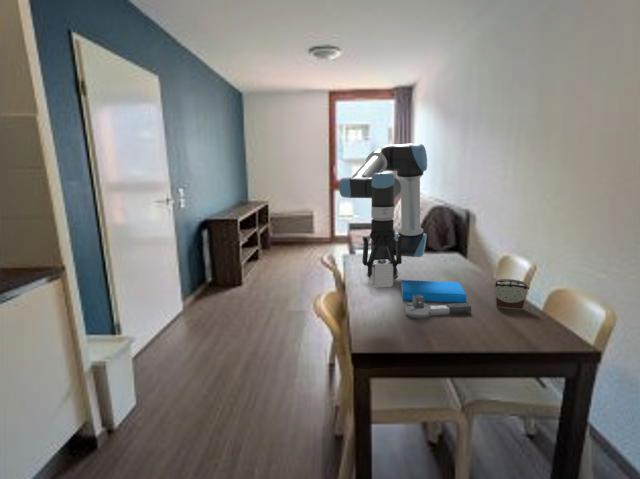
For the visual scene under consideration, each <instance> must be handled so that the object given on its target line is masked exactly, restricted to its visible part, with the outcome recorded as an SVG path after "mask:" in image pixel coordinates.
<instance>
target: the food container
mask: <svg viewBox="0 0 640 479" xmlns="http://www.w3.org/2000/svg"><path fill="white" fill-rule="evenodd" d="M493 288H494V289H495V307H496V308H502V309H511V310H521V309H522V310H523V311H524V307H525V304H526V298H527V293H528V290H529V291H530V286H529V284H528V283H527V282H525V281H522V280H518V279H511V278H509V279H508V278H501V279H500V278H499V279H496V280H495V281H494V283H493Z"/></svg>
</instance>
